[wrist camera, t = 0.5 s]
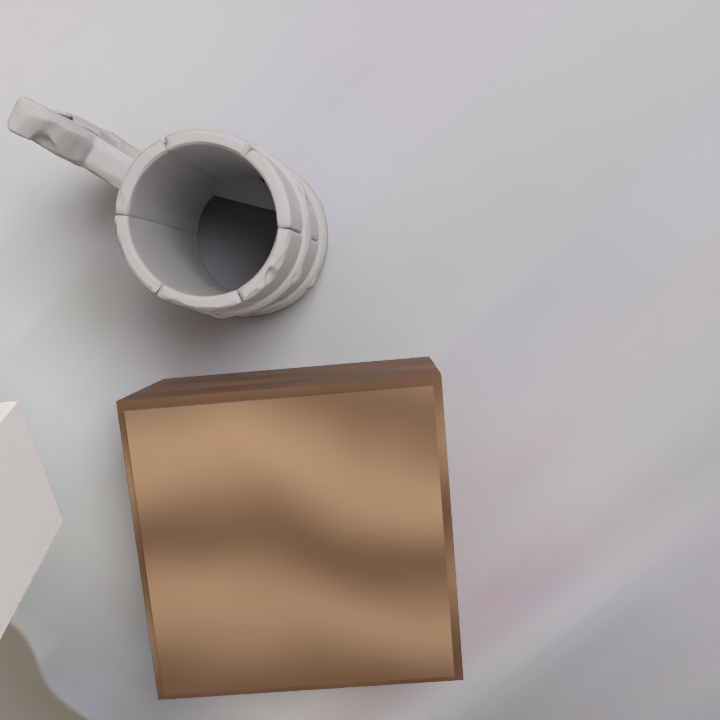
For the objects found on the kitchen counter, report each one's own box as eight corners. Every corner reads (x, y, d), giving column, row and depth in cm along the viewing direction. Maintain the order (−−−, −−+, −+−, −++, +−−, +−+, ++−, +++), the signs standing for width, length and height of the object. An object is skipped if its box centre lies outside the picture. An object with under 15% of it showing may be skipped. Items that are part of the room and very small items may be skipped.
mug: (283, 341, 32) (229, 378, 20) (84, 222, 32) (-90, 188, 20) (359, 213, 31) (348, 173, 19) (155, 87, 31) (16, -32, 19)
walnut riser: (448, 609, 34) (464, 684, 28) (196, 627, 35) (156, 704, 28) (429, 356, 32) (441, 375, 26) (163, 379, 33) (113, 402, 26)
